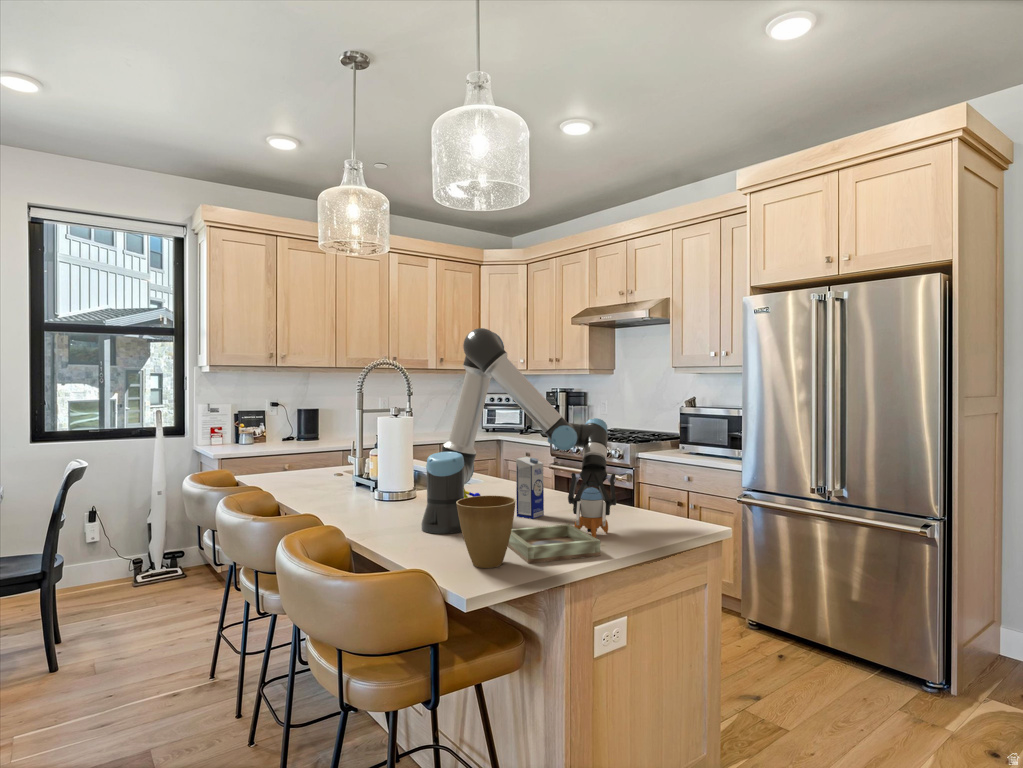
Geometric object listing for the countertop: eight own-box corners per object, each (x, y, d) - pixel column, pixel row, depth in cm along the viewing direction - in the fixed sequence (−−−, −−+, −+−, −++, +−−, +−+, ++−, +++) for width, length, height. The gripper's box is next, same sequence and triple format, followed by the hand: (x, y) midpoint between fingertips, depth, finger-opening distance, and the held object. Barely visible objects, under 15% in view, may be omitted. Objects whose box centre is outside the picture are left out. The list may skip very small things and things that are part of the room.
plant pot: (489, 552, 162) (488, 492, 162) (528, 564, 151) (527, 500, 151) (444, 564, 152) (444, 500, 152) (483, 577, 141) (482, 508, 141)
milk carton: (527, 513, 212) (527, 456, 212) (544, 515, 208) (543, 457, 208) (516, 516, 206) (515, 458, 206) (532, 519, 202) (532, 459, 202)
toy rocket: (606, 533, 185) (614, 487, 182) (608, 549, 175) (616, 500, 172) (573, 528, 186) (580, 482, 183) (573, 543, 175) (580, 494, 173)
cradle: (528, 563, 152) (527, 547, 152) (504, 543, 171) (504, 529, 171) (600, 555, 158) (600, 540, 158) (569, 537, 177) (569, 524, 177)
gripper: (626, 468, 192) (625, 531, 176) (564, 467, 196) (558, 528, 180) (626, 453, 187) (625, 517, 171) (562, 452, 191) (555, 514, 175)
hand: (590, 523), depth 176 cm, fingers closed on toy rocket, 7 cm apart
